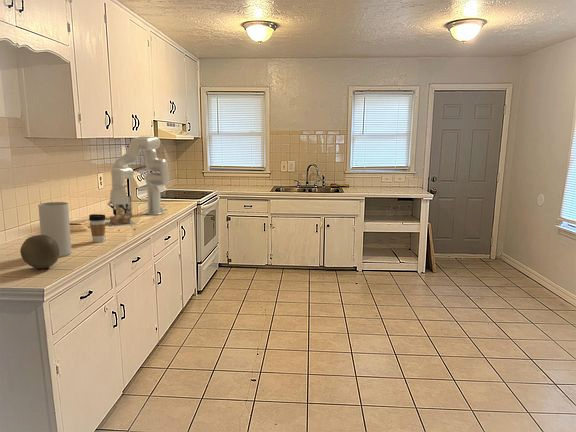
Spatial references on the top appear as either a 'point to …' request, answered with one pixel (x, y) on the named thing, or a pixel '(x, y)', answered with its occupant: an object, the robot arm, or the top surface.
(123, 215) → the oak cube
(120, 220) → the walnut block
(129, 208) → the coffee box
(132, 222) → the board
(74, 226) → the top surface
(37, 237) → the cantaloupe
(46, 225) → the cylinder vase
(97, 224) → the coffee cup
